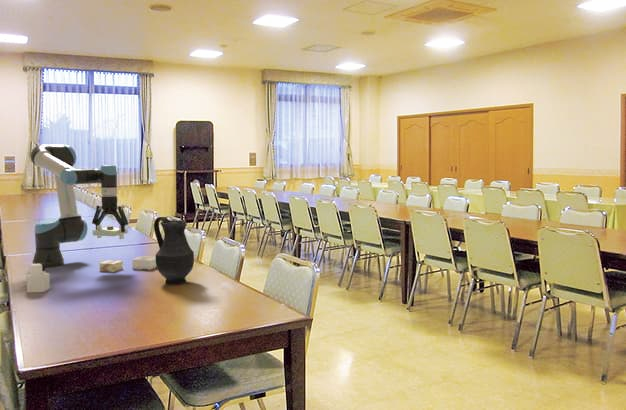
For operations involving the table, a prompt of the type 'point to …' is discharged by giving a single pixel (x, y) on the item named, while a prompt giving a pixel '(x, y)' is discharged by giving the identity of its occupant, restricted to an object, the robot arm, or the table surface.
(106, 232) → the lid
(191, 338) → the table surface
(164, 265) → the pitcher
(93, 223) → the robot arm
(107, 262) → the stand
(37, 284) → the medicine bottle
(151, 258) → the dish
